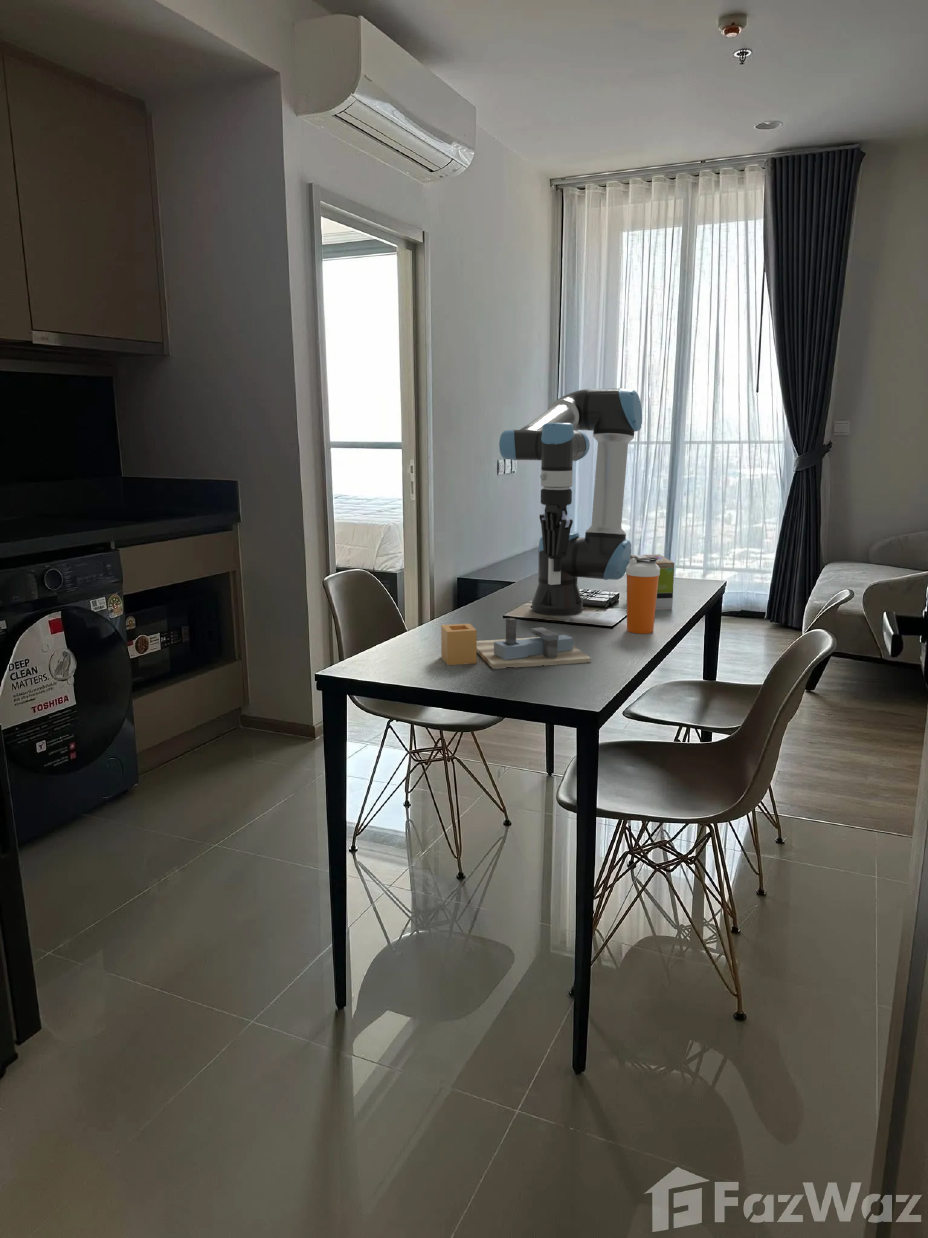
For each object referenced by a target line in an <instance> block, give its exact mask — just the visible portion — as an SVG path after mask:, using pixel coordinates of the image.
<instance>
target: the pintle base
mask: <svg viewBox="0 0 928 1238" xmlns="http://www.w3.org/2000/svg"><path fill="white" fill-rule="evenodd" d="M530 630H531V631H530V632H531V634H532V635H535V636H536V637H533V638H542V639H544V648H543V654H539V655H531V656H528V657H525V658H518V659H510V660H504V659H502V658H500V657H499V656H497V655H495V654H494V642H496V641H505V640H506V645H508V646H509V645H516V639H517V640H523V639H531V638H532V637H523V638H521V637H520V638H518V637H517V619H516V618H512V617H511V618H506V620H505V638H504V639H503V638H502V639H489V640H487V639H486V640H477V655H479V656H480V658H482V659H483V660H484V662H486V663H487V664H488V666H490V668H491V667H492V668H499V669H507V668H506V667H514V668H523V667H524V668H527V667H540V666H542V665H544V666H557V665H558V664H559V665H573V664H574V665H575V664H585V663H586V664H587V662H589V663H592V659H591V657H590V656H588V655H587V654H586V653H584V652H583V651H582V650H580V649H579V648H577V646H575V645H573V650H570V651H562V652H557V640H559V635H560V634H558V633H555V632H553V631H552V630H549V629H547V628H546V627H542V626H541V627H532V628H531V629H530ZM559 665H558V666H559ZM492 668H491V669H492Z"/></svg>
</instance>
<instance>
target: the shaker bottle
mask: <svg viewBox="0 0 928 1238" xmlns="http://www.w3.org/2000/svg"><path fill="white" fill-rule="evenodd" d="M641 560H649V561H641ZM656 560H658V559H657V558H650V557H648V558H638V557H636V556H634V557H632V558H631V559H630V561H629V564H628V566H627V567H626V572H625V575H626V631H627V632H628V633H632V634H637V635H638V634H639V635H640V634H641V635H645V634H652V633H653V632H654V629H655V628H654V627H655V618H656V610H655V609H656V599H657V589H658V579H659V575H660V568H659V566H658V565H657V564H656Z"/></svg>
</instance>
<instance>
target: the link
mask: <svg viewBox="0 0 928 1238" xmlns="http://www.w3.org/2000/svg"><path fill="white" fill-rule="evenodd" d="M558 635H559V640H557V652H562V651H570V650H573V646H574V638H573V637H572V636H569V635H567V634H558ZM530 638H531V639H523V640H517V638H516V645H509V646H508V645H506V640H505V641H496V642H494V654H495V655H497V656H499V657H500V658H502V659H504V660H510V659H518V658H525V657H528V656H531V655H539V654H543V648H544V639H542V638H534V637H530Z"/></svg>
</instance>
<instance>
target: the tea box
mask: <svg viewBox="0 0 928 1238" xmlns="http://www.w3.org/2000/svg"><path fill="white" fill-rule="evenodd" d="M634 556H636V557H638V558H648V557H650V558H657V559H658V560H656V564H657V565H658V566H659V568H660V575H659V579H658V589H657V599H656V609H655V611H669V610H670V611H671V610H673V604H674V603H673V602H674V601H673V600H674V578H675V577H674V576H675V562H674V561H672V560H670V559H668V558H666V557H665V556H663V555H661V554H636V555H635V554H631V557H630V559H631V558H632V557H634ZM641 561H649V560H641Z"/></svg>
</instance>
